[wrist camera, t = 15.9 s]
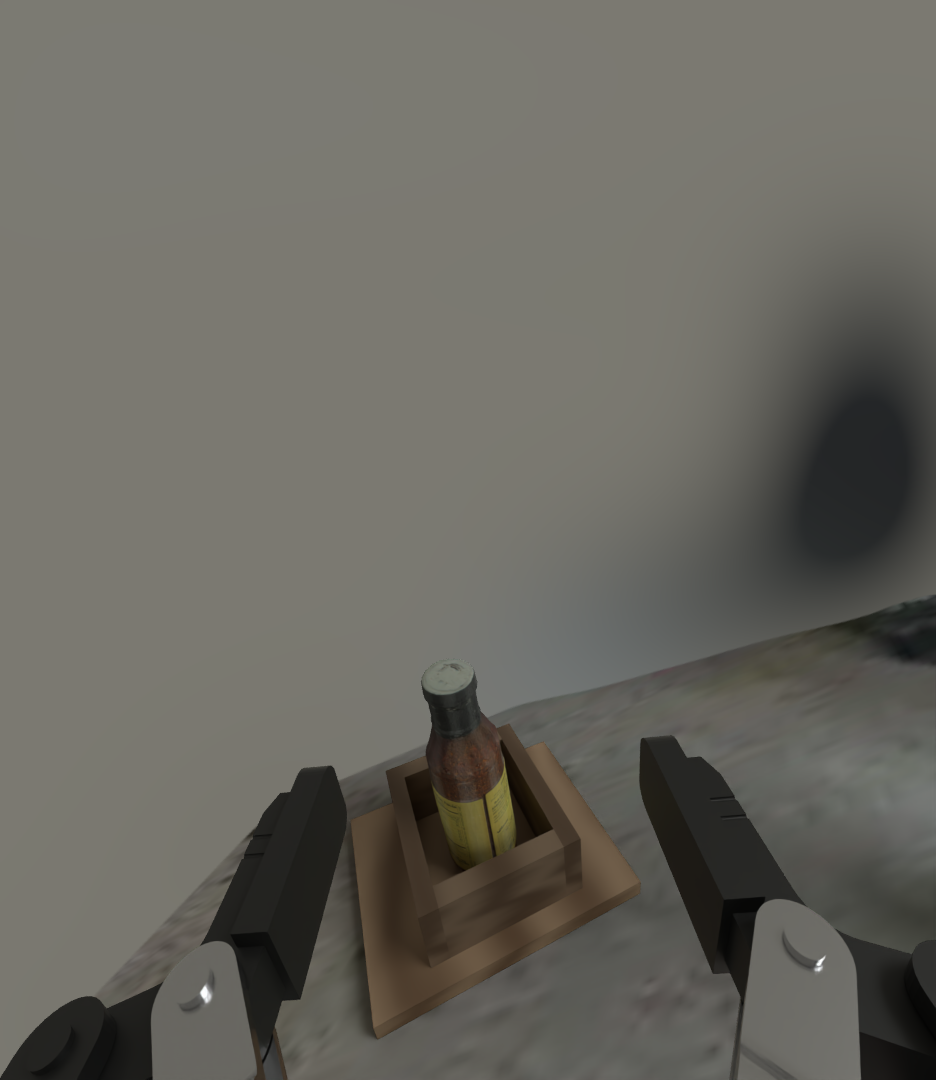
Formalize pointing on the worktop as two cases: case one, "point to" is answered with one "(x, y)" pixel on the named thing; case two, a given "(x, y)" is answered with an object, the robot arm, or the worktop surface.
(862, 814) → the worktop surface
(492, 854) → the sauce bottle
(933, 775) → the worktop surface
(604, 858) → the walnut caddy
